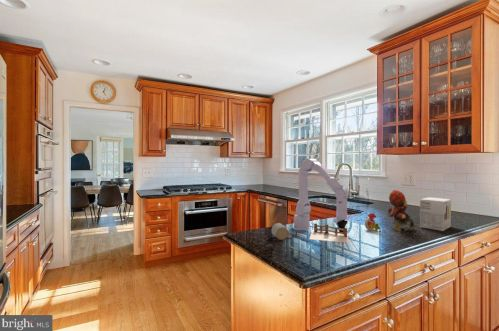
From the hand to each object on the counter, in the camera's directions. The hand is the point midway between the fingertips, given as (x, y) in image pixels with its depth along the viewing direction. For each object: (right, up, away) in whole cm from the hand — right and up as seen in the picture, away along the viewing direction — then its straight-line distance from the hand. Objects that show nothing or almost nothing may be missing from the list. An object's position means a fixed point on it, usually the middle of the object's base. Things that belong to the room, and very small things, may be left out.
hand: (341, 233), depth 151 cm
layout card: (-7, -2, 0) cm, 7 cm away
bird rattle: (+23, -2, +12) cm, 26 cm away
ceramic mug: (-34, -2, -4) cm, 34 cm away
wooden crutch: (-2, -1, 0) cm, 2 cm away
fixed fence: (-10, -1, +6) cm, 12 cm away
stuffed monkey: (+42, -2, +15) cm, 45 cm away
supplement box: (+67, -2, +21) cm, 71 cm away
